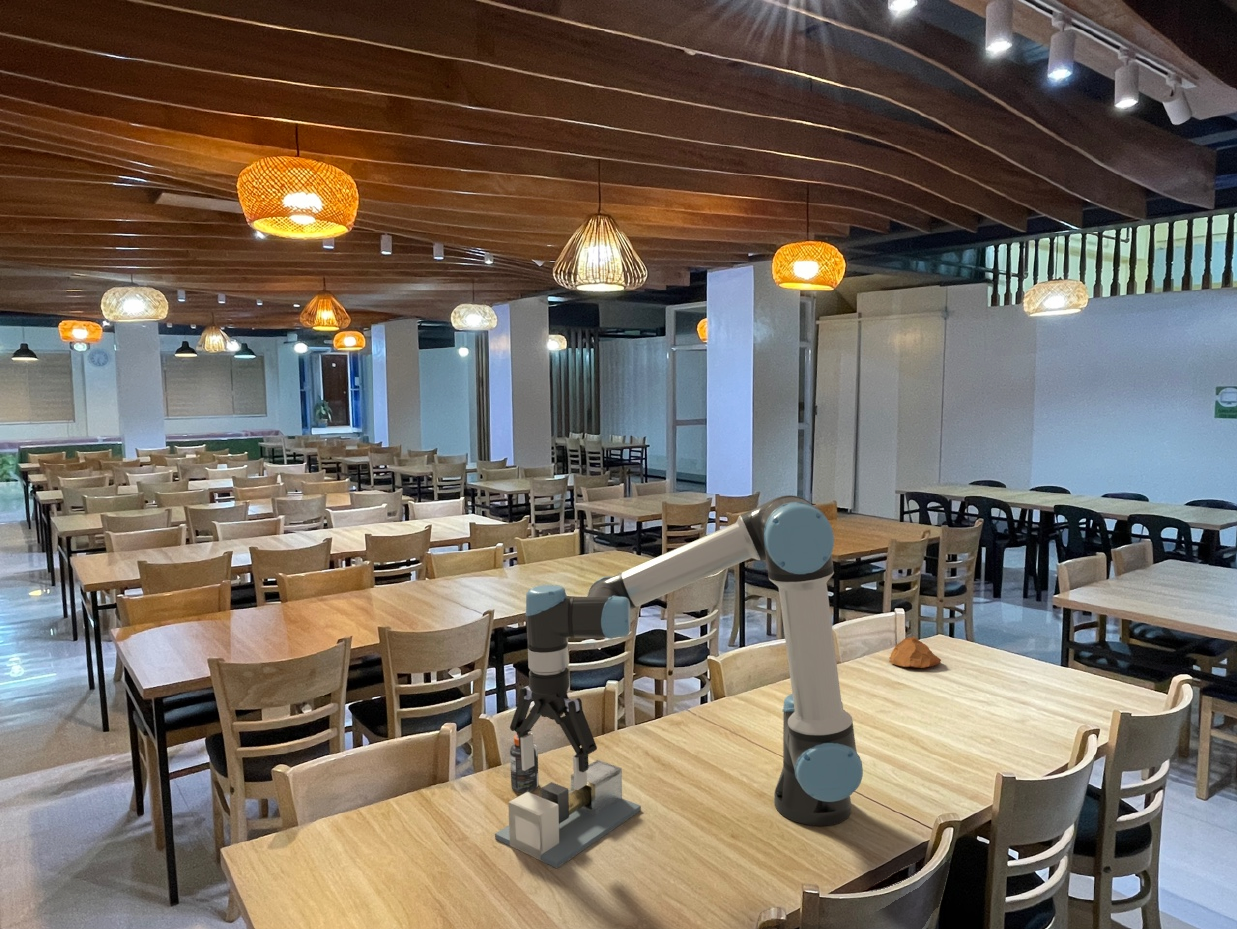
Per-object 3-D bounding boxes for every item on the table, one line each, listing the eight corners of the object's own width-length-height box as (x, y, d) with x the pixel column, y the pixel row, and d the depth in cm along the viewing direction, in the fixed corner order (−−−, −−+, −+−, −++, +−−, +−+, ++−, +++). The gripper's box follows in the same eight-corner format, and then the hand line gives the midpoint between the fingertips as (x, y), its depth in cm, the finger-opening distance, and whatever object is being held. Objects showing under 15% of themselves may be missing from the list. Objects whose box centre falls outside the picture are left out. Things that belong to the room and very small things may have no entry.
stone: (899, 679, 241) (885, 647, 243) (891, 675, 255) (878, 644, 257) (947, 663, 239) (933, 630, 242) (936, 659, 254) (923, 628, 256)
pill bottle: (543, 782, 175) (542, 732, 174) (531, 795, 170) (530, 743, 169) (518, 778, 177) (517, 728, 176) (506, 791, 172) (504, 739, 171)
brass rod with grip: (597, 803, 161) (596, 772, 160) (545, 836, 149) (544, 802, 149) (580, 797, 164) (580, 766, 163) (528, 829, 152) (527, 795, 151)
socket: (559, 848, 150) (558, 804, 149) (540, 860, 146) (539, 815, 145) (528, 834, 155) (527, 791, 154) (509, 845, 151) (508, 802, 150)
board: (640, 810, 163) (640, 805, 163) (556, 868, 143) (556, 863, 143) (581, 787, 173) (581, 782, 173) (495, 838, 153) (494, 833, 153)
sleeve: (622, 798, 166) (621, 768, 165) (595, 815, 159) (595, 784, 158) (598, 789, 170) (597, 759, 169) (571, 805, 163) (570, 775, 162)
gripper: (612, 675, 146) (617, 787, 148) (516, 651, 162) (521, 753, 164) (585, 687, 141) (590, 804, 142) (488, 662, 156) (494, 767, 158)
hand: (553, 777), depth 153 cm, fingers open, 13 cm apart
